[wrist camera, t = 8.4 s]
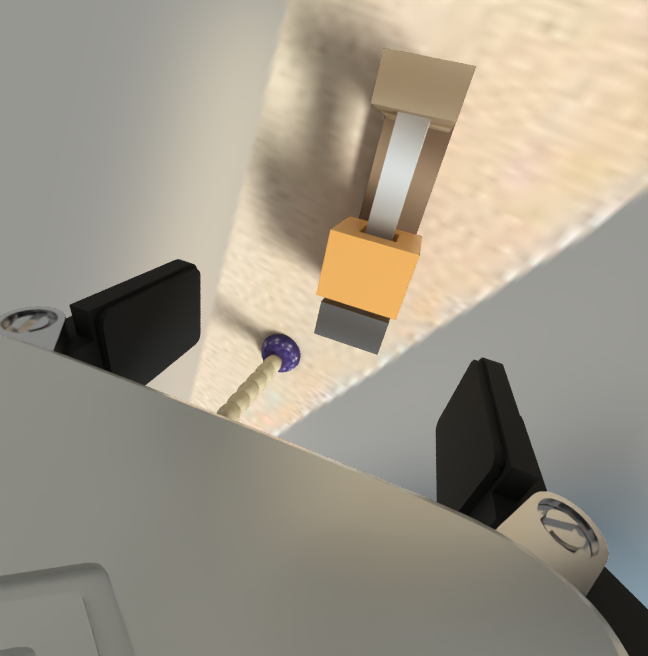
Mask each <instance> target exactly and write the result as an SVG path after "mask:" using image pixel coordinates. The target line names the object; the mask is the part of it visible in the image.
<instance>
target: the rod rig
mask: <svg viewBox="0 0 648 656" xmlns="http://www.w3.org/2000/svg"><path fill="white" fill-rule="evenodd" d="M475 68H476V66H473V65H468V64H463V63H457V62H452V61H447V60H442V59H437V58H432V57H427V56H422V55H417V54H412V53H407V52H402V51H397V50H391V49H386V48H383V52H382V57H381V61H380V65H379V70H378V74H377V78H376V82H375V87H374V91H373V95H372V100H371V103H372V104H373V105H374V106H375V107H376V108H377V109H378V110H379V111H380V112H381V113H382V114H383V115H384V116H385V119H384V123H383V126H382V130H381V134H380V138H379V142H378V146H377V150H376V154H375V158H374V162H373V166H372V169H371V173H370V177H369V181H368V185H367V189H366V193H365V197H364V201H363V205H362V209H361V212H360V216H359V219H362V220H366V221H368V224H367V228H366V231H365V233H366V234H369V235H373V236H376V237H380V238H383V239H387V240H390V241H392V240H393V237H394V234H395V231H396V229H398V230H402V231H405V232H409V233H412V234H417V231H418V228H419V225H420V222H421V220H422V217H423V214H424V211H425V208H426V205H427V203H428V200H429V197H430V194H431V191H432V188H433V186H434V183H435V180H436V177H437V174H438V171H439V169H440V166H441V163H442V160H443V157H444V154H445V152H446V149H447V146H448V143H449V140H450V137H451V135H452V132H453V129H454V126H455V123H456V122H457V119H458V116H459V113H460V110H461V108H462V105H463V102H464V99H465V96H466V93H467V91H468V88H469V85H470V82H471V79H472V76H473V74H474V71H475ZM389 320H390V318H388V317H385V316H382V315H378V314H375V313H372V312H369V311H366V310H363V309H360V308H357V307H354V306H350V305H347V304H344V303H341V302H338V301H335V300H332V299H329V298H324V299H323V300H322V301H321V305H320V310H319V314H318V319H317V323H316V327H315V332H314V333H315V334H318V335H321V336H324V337H327V338H330V339H333V340H335V341H338V342H341V343H344V344H347V345H350V346H353V347H356V348H359V349H362V350H365V351H368V352H371V353H374V354H378V352H379V349H380V346H381V343H382V340H383V338H384V335H385V332H386V329H387V327H388V324H389Z"/></svg>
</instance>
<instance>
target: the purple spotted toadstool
mask: <svg viewBox="0 0 648 656" xmlns="http://www.w3.org/2000/svg"><path fill="white" fill-rule="evenodd" d="M262 358H263V361H264V362H263V364H261V365H260V366H258V368H257V369H256V371H255V372H254V373H252V374H251V375H250V376H249V377H248V378H247V380H246V382H244V383H243V384H241V385H240V386H239V388H238V390H237V392H236V393H234V394H233V395H232V396H231V397H230V398H229V399H228V401H227V403H226V404H224V405H223V406H222V407H221V408H220V409H219V410H218V411H217V414H219V415H222V416H224V417H227V418H229V419H232V420H235V421H237V422H238V420H239V418H240V415H241V414H243V413H244V412H245V411H246V410H247V409H248V407H249V405H250V403H251V402H253V401H254V400H255V399H256V398H257V396H258V394H259V392H261V391H262V390H263V389H264V388H265V386H266V384H267V382H269V381H270V380H271V379H272V378H273V376H274V374H275V373H276V372H287V371H290V370H292V369H294V368H295V367H296V366H297V365H298V363H299V361H300V350H299V348H298V346H297V344H296V343H295V342H294V341H293V340H292V339H290V338H289V337H287V336H284V335H280V334H277V335H276V334H275V335H271V336H269V337H268V338H267V339H266V340H265V342H264V344H263V346H262Z"/></svg>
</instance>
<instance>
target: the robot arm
mask: <svg viewBox="0 0 648 656" xmlns="http://www.w3.org/2000/svg"><path fill="white" fill-rule="evenodd" d="M70 309H71V313H72V316H71V317H68V318H66V317H65V314H64V313H63V312H62V311H60V310H58V309H56V308H51V307H41V306H37V307H26V308H21V309H16V310H13V311H10V312H7V313H5V314H3V315H1V316H0V656H648V609H647V608H646V607H645V606H644V605H643V604H642V603H641V602H640V601H639V600H638V599H637V598H636V597H635V596H634V595H633V594H632V593H631V592H630V591H629V590H628V589H627V588H625V586H624V585H623V584H622V583H620V582H619V580H618V579H617V578H616V577H615V576H614V575H613V574H612V573H611V572H610V571H608V569H607V568H606V567H605V565H606V563H607V560H608V555H609V552H608V548H607V543H606V541H605V539H604V538H603V535H602V533H601V532H600V530H599V529H598V528H597V526H596V525H595V524H594V523H593V521H592V520H591V519H590V518H589V517H588V516H587V515H586V514H585V513H584V512H583V511H582V510H581V509H580V508H578V507H577V506H576V505H574V504H573V503H572V502H570V501H569V500H567V499H565V498H563V497H561V496H559V495H557V494H554V493H550V492H547V489H546V487H545V484H544V481H543V478H542V475H541V472H540V469H539V466H538V463H537V460H536V457H535V454H534V451H533V448H532V446H531V442H530V439H529V436H528V433H527V430H526V428H525V424H524V421H523V419H522V417H521V416H520V414H519V411H518V408H517V405H516V402H515V399H514V396H513V393H512V390H511V387H510V384H509V381H508V378H507V375H506V372H505V370H504V366H503V364H501V363H497V362H495V361H492V360H488V359H486V358H481V359H480V360H479V361H477V360H473V361H472V362H471V363H470V365H469V367H468V369H467V371H466V372H465V374H464V376H463V378H462V379H461V381H460V383H459V385H458V386H457V388H456V390H455V392H454V394H453V395H452V397H451V399H450V401H449V403H448V404H447V406H446V408H445V410H444V411H443V413H442V415H441V417H440V418H439V420H438V423H437V427H436V473H437V476H436V478H437V502H435V501H433V500H431V499H428V498H426V497H424V496H422V495H419V494H417V493H414V492H412V491H409V490H407V489H404V488H402V487H399V486H397V485H394V484H392V483H389V482H387V481H385V480H382V479H380V478H378V477H375V476H373V475H370V474H368V473H365V472H363V471H360V470H358V469H355V468H353V467H350V466H348V465H345V464H343V463H340V462H338V461H335V460H332V459H330V458H328V457H325V456H323V455H320V454H318V453H315V452H313V451H310V450H307V449H305V448H303V447H300V446H298V445H295V444H293V443H290V442H287V441H285V440H283V439H280V438H278V437H275V436H273V435H270V434H267V433H265V432H262V431H260V430H257V429H255V428H252V427H250V426H247V425H245V424H242V423H240V422H237V421H235V420H232V419H229V418H227V417H224V416H222V415H219V414H217V413H214V412H212V411H209V410H206V409H204V408H201V407H199V406H196V405H194V404H191V403H189V402H186V401H183V400H181V399H178V398H176V397H173V396H171V395H168V394H165V393H163V392H160V391H158V390H155V389H152V388H150V387H147V386H145V385H146V384H147V383H149V382H150V381H151V380H153V379H154V378H155V377H156V376H157V375H159V374H160V373H161V372H162V371H164V370H165V369H166V368H167V367H168V366H170V365H171V364H172V363H173V362H175V361H176V360H177V359H178V358H179V357H180V356H182V355H183V354H184V353H186V352H187V351H188V350H189V349H190V348H192V347H193V346H194V345H195V344H196V343H197V342H198V340H199V338H200V272H199V270H197V268H196V266H195V265H194V264H192V263H189V262H185V261H182V260H179V259H177V260H174V261H172V262H169V263H167V264H165V265H162V266H160V267H157V268H155V269H153V270H151V271H148V272H146V273H143V274H141V275H139V276H136V277H134V278H131V279H129V280H127V281H124V282H122V283H120V284H117V285H115V286H113V287H110V288H108V289H106V290H103V291H101V292H99V293H96V294H94V295H92V296H89V297H87V298H85V299H82V300H80V301H77V302H75V303H73V304H71V305H70Z"/></svg>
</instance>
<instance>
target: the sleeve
mask: <svg viewBox="0 0 648 656" xmlns="http://www.w3.org/2000/svg"><path fill="white" fill-rule="evenodd" d="M367 224H368V221H366V220H362V219H359V218H355V217H351V216H349V217H348V218H346V219H345V220H343V221H342V222H340V223H339V224H338V225H336V226H335V227H333V228H332V229H330V234H329V238H328V243H327V247H326V252H325V257H324V261H323V266H322V271H321V275H320V280H319V285H318V289H317V294H316V295H319V296H322V297H325V298H329V299H332V300H335V301H338V302H341V303H344V304H347V305H350V306H354V307H357V308H360V309H363V310H366V311H369V312H372V313H375V314H378V315H382V316H385V317H388V318H391V319H394V320H396V318H397V315H398V313H399V310H400V307H401V305H402V302H403V299H404V296H405V294H406V291H407V288H408V286H409V283H410V280H411V278H412V275H413V272H414V270H415V267H416V264H417V261H418V259H419V256H420V248H421V239H422V236H420V235H416V234H412V233H409V232H405V231H402V230H398V229H396V231H395V234H394V237H393V240H392V241H390V240H387V239H383V238H380V237H376V236H373V235H369V234H366V233H365V231H366V228H367Z"/></svg>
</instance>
